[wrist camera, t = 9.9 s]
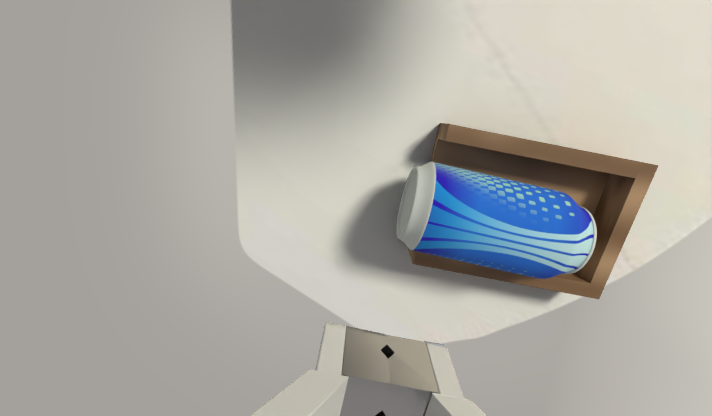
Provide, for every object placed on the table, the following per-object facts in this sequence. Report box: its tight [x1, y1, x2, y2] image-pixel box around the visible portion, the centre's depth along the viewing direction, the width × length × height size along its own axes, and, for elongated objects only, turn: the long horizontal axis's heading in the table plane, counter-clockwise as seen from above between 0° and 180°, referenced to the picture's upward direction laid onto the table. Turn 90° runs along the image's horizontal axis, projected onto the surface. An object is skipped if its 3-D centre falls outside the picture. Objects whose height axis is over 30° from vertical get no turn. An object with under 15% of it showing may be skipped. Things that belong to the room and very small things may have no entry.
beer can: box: [396, 162, 597, 279], centre depth 31 cm, size 8×8×16 cm
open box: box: [408, 123, 658, 299], centre depth 34 cm, size 14×20×4 cm
